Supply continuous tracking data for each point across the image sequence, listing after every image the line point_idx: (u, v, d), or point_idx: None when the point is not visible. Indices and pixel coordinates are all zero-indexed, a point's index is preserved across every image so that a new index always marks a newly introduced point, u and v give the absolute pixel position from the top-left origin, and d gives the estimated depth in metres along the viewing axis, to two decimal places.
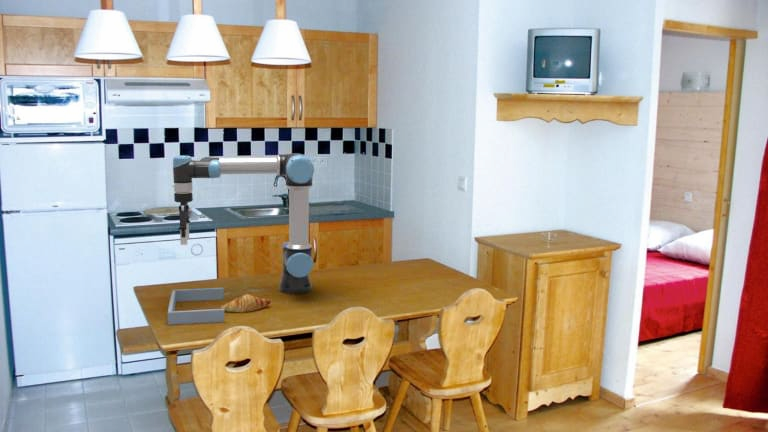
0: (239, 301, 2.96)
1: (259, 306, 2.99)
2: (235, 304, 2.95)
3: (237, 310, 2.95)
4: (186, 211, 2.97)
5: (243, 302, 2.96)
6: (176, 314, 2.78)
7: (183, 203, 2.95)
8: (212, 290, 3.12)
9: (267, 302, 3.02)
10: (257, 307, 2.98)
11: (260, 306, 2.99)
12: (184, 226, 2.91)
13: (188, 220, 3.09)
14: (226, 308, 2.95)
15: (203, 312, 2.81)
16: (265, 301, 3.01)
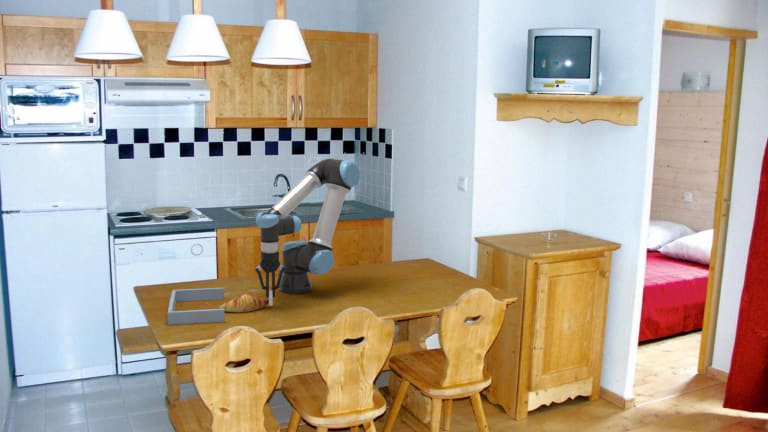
0: (237, 301, 2.96)
1: (257, 306, 2.98)
2: (233, 304, 2.94)
3: (235, 310, 2.94)
4: (266, 271, 2.98)
5: (241, 302, 2.95)
6: (176, 314, 2.78)
7: None
8: (212, 290, 3.12)
9: (265, 302, 3.01)
10: (255, 307, 2.98)
11: (258, 306, 2.99)
12: (262, 286, 3.00)
13: (274, 288, 3.00)
14: (224, 308, 2.94)
15: (203, 312, 2.81)
16: (263, 301, 3.01)
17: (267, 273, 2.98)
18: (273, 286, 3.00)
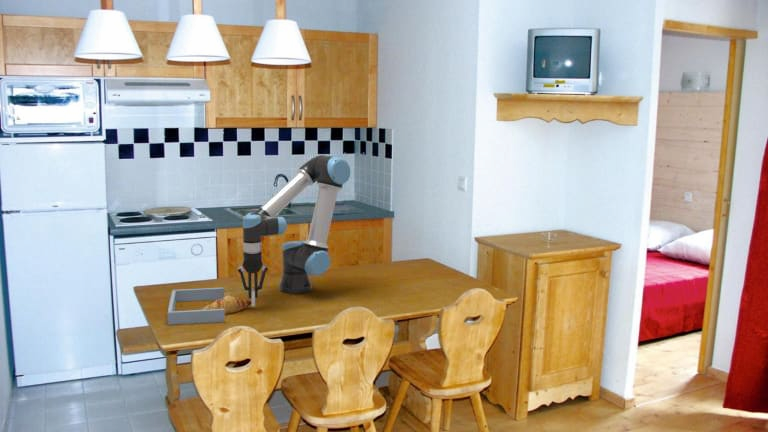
0: (220, 302, 2.93)
1: (241, 307, 2.96)
2: (217, 306, 2.91)
3: None
4: (248, 272, 2.96)
5: (225, 303, 2.93)
6: (176, 314, 2.78)
7: None
8: (212, 290, 3.12)
9: (248, 303, 3.00)
10: (239, 308, 2.96)
11: (242, 307, 2.97)
12: None
13: (257, 289, 2.99)
14: None
15: (203, 312, 2.81)
16: (246, 302, 2.99)
17: (249, 274, 2.96)
18: (256, 287, 2.98)
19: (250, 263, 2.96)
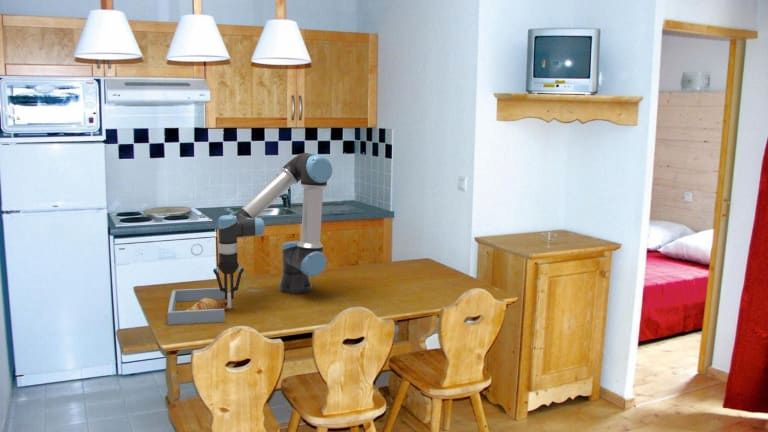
0: (201, 306, 2.89)
1: (220, 308, 2.94)
2: (198, 309, 2.87)
3: None
4: (224, 273, 2.94)
5: (206, 306, 2.89)
6: (176, 314, 2.78)
7: None
8: (212, 290, 3.12)
9: (225, 304, 2.98)
10: None
11: (220, 308, 2.95)
12: None
13: (233, 290, 2.96)
14: None
15: (203, 312, 2.81)
16: (224, 303, 2.97)
17: (225, 275, 2.94)
18: (231, 288, 2.96)
19: (226, 264, 2.94)
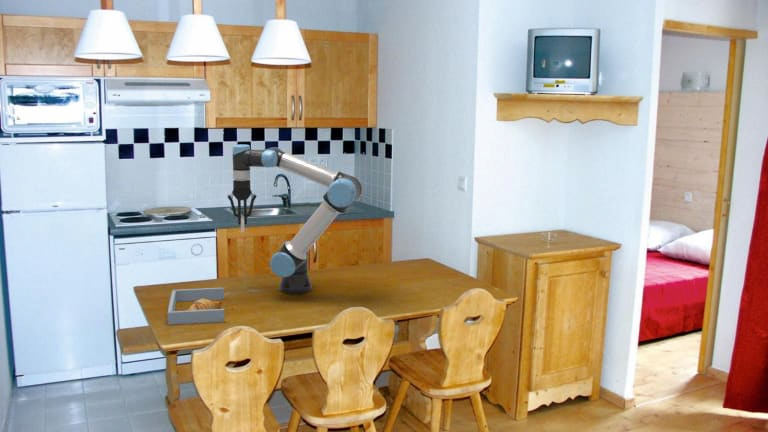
0: (199, 307, 2.88)
1: None
2: None
3: None
4: (237, 199, 3.12)
5: (204, 307, 2.88)
6: (176, 314, 2.78)
7: None
8: (212, 290, 3.12)
9: (220, 304, 2.98)
10: None
11: (217, 308, 2.95)
12: (234, 213, 3.13)
13: (246, 216, 3.14)
14: None
15: (203, 312, 2.81)
16: (219, 303, 2.97)
17: (239, 200, 3.12)
18: (245, 213, 3.14)
19: (239, 190, 3.12)
